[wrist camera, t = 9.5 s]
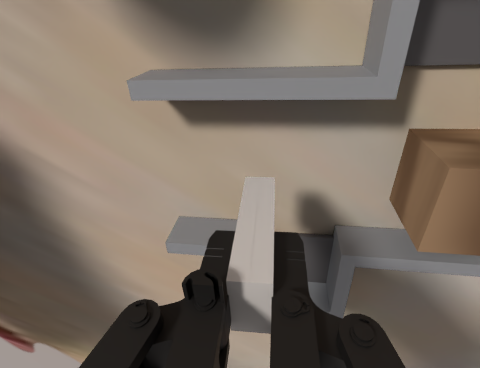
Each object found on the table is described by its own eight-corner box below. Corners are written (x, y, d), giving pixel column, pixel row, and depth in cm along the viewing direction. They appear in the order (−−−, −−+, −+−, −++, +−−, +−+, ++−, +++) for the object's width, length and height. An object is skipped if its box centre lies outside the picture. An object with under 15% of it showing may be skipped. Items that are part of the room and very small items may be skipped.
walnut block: (389, 198, 19) (417, 251, 15) (408, 128, 17) (449, 168, 12) (470, 202, 19) (524, 258, 14) (504, 129, 16) (582, 171, 12)
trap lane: (190, 276, 26) (180, 305, 24) (125, -62, 14) (88, -78, 11) (464, 300, 23) (486, 336, 20) (704, -115, 10) (837, -154, 8)
